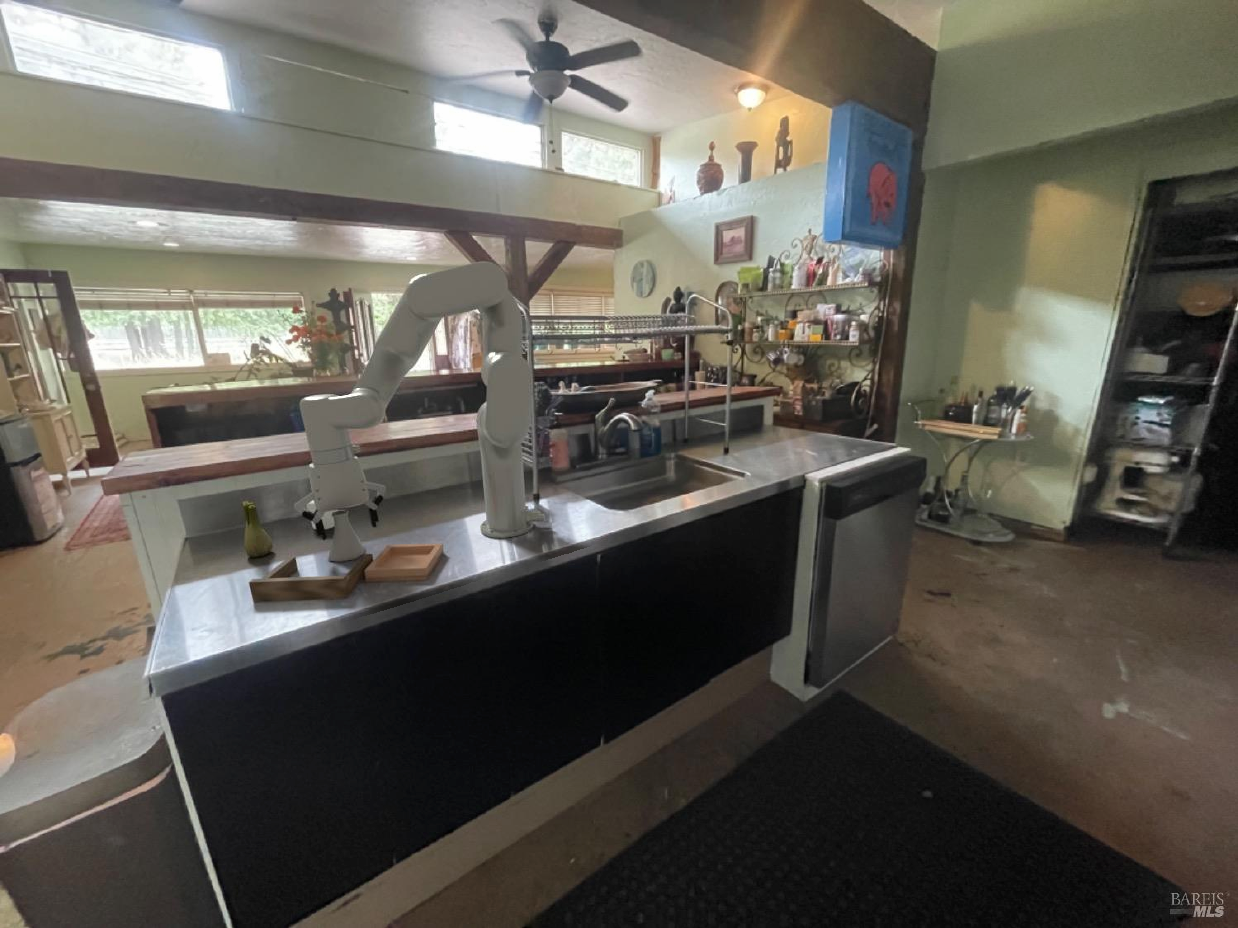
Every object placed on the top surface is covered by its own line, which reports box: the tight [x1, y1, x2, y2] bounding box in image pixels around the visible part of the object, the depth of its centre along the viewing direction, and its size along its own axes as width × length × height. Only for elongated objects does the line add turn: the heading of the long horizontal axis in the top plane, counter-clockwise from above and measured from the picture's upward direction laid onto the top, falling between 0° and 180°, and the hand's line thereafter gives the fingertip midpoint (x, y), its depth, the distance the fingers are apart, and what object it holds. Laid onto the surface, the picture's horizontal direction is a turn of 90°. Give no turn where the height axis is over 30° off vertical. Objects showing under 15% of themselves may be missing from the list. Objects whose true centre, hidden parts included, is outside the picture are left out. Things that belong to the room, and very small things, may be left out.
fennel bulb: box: [241, 501, 274, 558], centre depth 107 cm, size 6×5×12 cm
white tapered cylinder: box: [305, 500, 338, 530], centre depth 123 cm, size 7×7×7 cm
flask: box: [327, 509, 366, 563], centre depth 106 cm, size 7×7×10 cm
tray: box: [364, 542, 445, 583], centre depth 102 cm, size 12×12×2 cm
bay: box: [248, 553, 374, 603], centre depth 95 cm, size 16×12×4 cm
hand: (349, 531), depth 107 cm, fingers open, 9 cm apart
